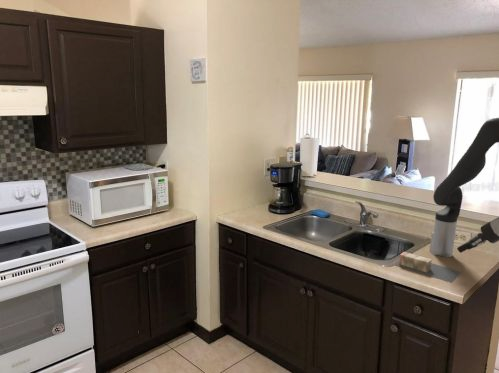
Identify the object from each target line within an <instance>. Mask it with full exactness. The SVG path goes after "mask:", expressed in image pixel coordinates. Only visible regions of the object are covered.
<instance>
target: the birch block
mask: <svg viewBox="0 0 499 373" xmlns="http://www.w3.org/2000/svg"><path fill="white" fill-rule="evenodd" d="M432 260H433V259H432V258H427V257H424V256H421V255H417V254H413V253H410V252H406V251H403V252H402V253H400V254H399V260H398V262H399V264H400V265H404V266H407V267H410V268H414V269H417V270H420V271H424V272H428V271H429V270H430V269H431V263H432Z"/></svg>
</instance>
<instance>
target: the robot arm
mask: <svg viewBox="0 0 499 373" xmlns="http://www.w3.org/2000/svg"><path fill="white" fill-rule="evenodd" d="M497 143H499V117H496V118H495V117H494V118H489V119H488V120H485V122H484V123H483V124H482V126H481V127H480V129H479V130H478V133H477V134H476V136H475V137H474V139H473V141H472V143H471V144H470V145H469V147H468V148H467V149H466V151H465V152H464V153H463V154H462V156H461V158H460V159H459V160H458V161H457V163H456V165H455V166H454V168H453V169H452V170H451V172H449V174H448V175H447V177H445V179H444V180H443V181H441V182H440V183H439V185H437V187H436V188H435V190H434V193H433V197H432V198H433V202H434V203H435V204H436V205H437V206H442V207H444V208H443V209H440V210H439V211H436V212H435V217H434V226H433V231H432V232H431V237H430V238H431V239H430V246H429V252H430V253H431V254H432V255H434V256H438V257H441V258H452V257H453V253H454V246H455V239H456V232H457V223H458V218H459V216H460V214H461V208H462V205H463V204H462V203H463V196H464V195H463V191H462V188H461V187H462V186H463V185H466V184H468V183H470V182H471V181H473V180H474V179H475V178H477V177H478V176H479V174H480V173H481V172H482V171H483V169H484V168H485V167H486V161H487V160H486V159H487V158H486V157H487V156H486V154H487V153H488V151H489V150H490V149H491V148H492V147H493V146H494V145H495V144H497ZM487 241H488V242H489V243H491V244H495V243H498V242H499V216H497V217H496V218H493V219H492V220H491V221H489V222H487V223H485V224H483V225H481V227H480V232H478V233H476V235H474V236H473V237H470V239H469V240H468V241H465V243H463V244H462V245H459V246H458V247H457V248H456V249H457V251H458V252H459V253H460V254H461V253H463V252H465V251H466V250H471V249H475V248H476V247H479V246H482V245H484V244H485V243H486V242H487Z"/></svg>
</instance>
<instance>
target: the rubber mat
mask: <svg viewBox="0 0 499 373" xmlns="http://www.w3.org/2000/svg"><path fill="white" fill-rule="evenodd" d="M394 266H395V267H398V268H401V269H405V270H409V271H412V272H415V273H418V274H422V275H425V276H427V277H431V278H435V279H439V280H441V281H445V282H447V283H453V282H454V281H455V280H456V279H457V278H458V277H459V276H460V275H461V274H462V273H463V271H460V270H458V269H453V268H451V267H447V266H443V265H440V264H436V263H433V262H431V269H430V270H429V271H428V272H424V271H420V270H417V269H414V268H410V267H407V266H404V265H400V264H399V261H397V262H396V263H395V264H394Z"/></svg>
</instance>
